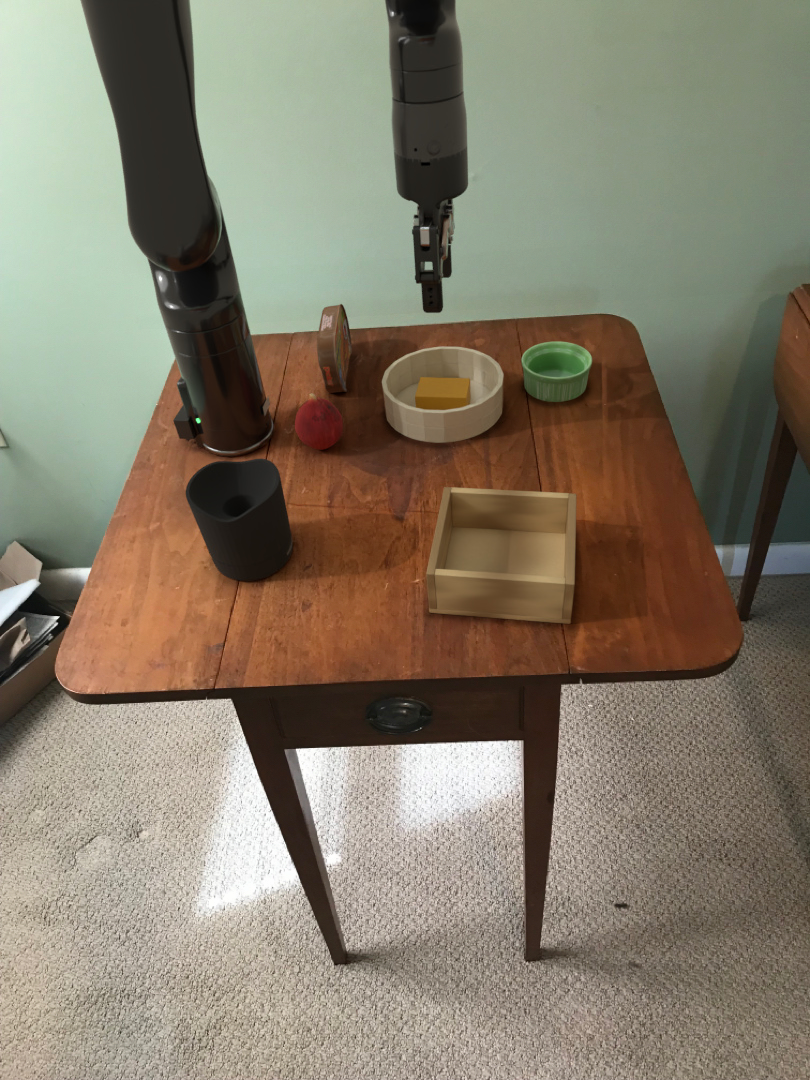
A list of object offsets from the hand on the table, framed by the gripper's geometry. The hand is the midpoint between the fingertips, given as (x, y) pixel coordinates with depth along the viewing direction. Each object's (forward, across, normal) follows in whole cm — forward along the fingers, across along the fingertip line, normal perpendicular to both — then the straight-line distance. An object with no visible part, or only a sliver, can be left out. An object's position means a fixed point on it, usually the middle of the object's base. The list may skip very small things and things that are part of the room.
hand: (438, 293), depth 89 cm
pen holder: (+16, +28, -17) cm, 37 cm away
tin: (+16, -8, -16) cm, 24 cm away
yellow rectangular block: (+15, 0, 0) cm, 16 cm away
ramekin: (+16, -6, +14) cm, 22 cm away
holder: (+16, +28, +10) cm, 34 cm away
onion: (+16, +9, -14) cm, 23 cm away
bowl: (+16, 0, 0) cm, 16 cm away
